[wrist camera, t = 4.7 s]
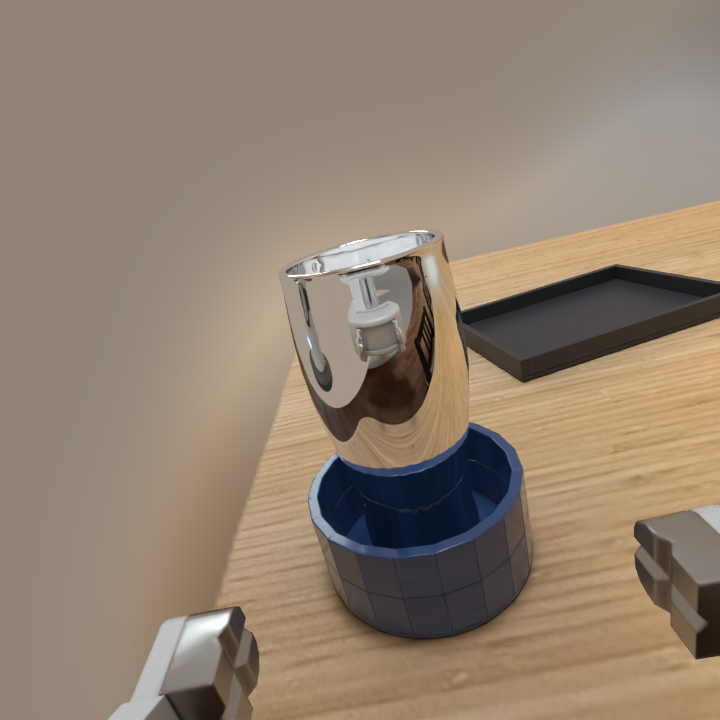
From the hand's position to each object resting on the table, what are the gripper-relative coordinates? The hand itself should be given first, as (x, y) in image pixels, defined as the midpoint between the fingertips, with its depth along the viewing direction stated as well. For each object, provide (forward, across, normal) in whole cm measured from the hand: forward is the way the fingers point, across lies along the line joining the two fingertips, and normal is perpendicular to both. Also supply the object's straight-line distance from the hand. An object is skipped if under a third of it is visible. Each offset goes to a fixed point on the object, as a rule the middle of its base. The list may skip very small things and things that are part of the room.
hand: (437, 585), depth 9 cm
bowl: (+11, 0, +10) cm, 15 cm away
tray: (+35, -19, +10) cm, 41 cm away
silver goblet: (+11, 0, +10) cm, 15 cm away
